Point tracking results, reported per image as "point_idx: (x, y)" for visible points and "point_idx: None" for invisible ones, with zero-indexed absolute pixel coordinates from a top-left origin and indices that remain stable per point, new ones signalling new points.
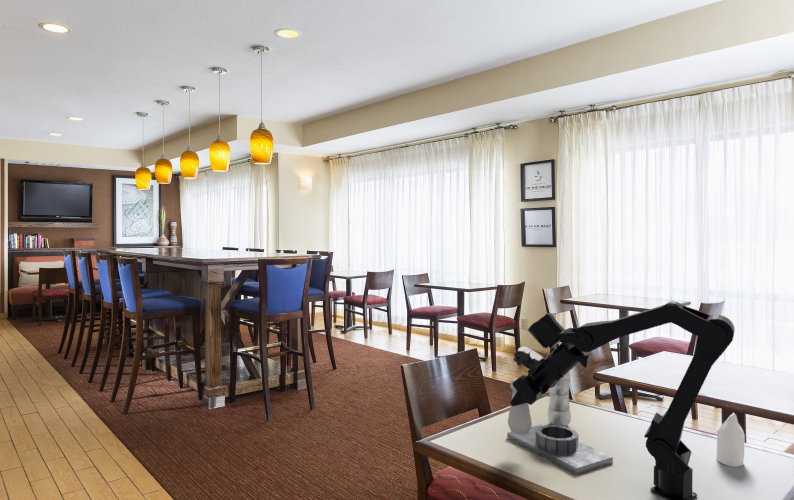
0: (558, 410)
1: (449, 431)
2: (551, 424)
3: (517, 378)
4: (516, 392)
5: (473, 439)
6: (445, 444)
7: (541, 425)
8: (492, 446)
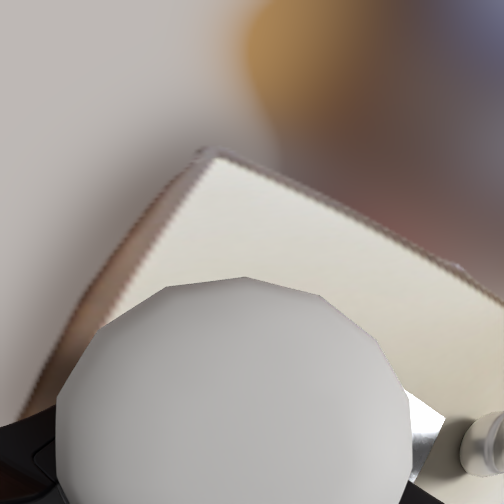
0: (496, 454)
1: (299, 186)
2: (465, 434)
3: (332, 404)
4: (35, 415)
5: (276, 252)
6: (207, 191)
7: (440, 422)
8: None
